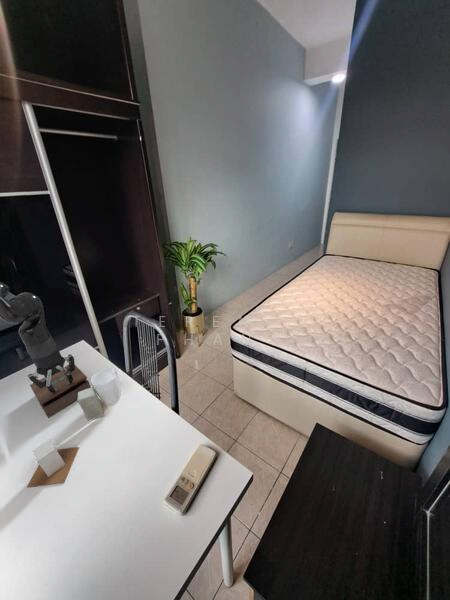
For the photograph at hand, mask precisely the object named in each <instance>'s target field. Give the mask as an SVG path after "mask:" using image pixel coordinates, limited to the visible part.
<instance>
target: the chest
mask: <svg viewBox="0 0 450 600" xmlns="http://www.w3.org/2000/svg"><path fill="white" fill-rule="evenodd" d="M91 387H92V385H91V384H90V382H89V381H88V378H87V379H85V380H83V381H82V382H80V383H78V384H76V385H75V386H73V387H71V388H69V389H68V390H66V391H64V392H63V393H61V394H59V395H57V396H56V397H54V398H52V399H50V400H49V401H47V402H45V403H44V404H42V405H40V406H41V408H42V410H43V412H44V413H45V415H46V417H47V418H48V419H50V418H51V417H53V416H55V415H56V414H58V413H60V412H61V411H63V410H65V409H66V408H68V407H69V406H71V405H72V404H74V403H75V402H78V401H77V399H78V392H80V391H83V390H85V389H88V388H91Z"/></svg>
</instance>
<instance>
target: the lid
mask: <svg viewBox="0 0 450 600" xmlns="http://www.w3.org/2000/svg"><path fill="white" fill-rule="evenodd" d="M64 367H65V368H66V369H68V368H69V364H67V365H65V366H64ZM71 375H72V377H73V380H72V383H70V382H69V381H68V379H67V375H66V374H65V373H63V372H59V373H56V374H54V375H53V376H51V384H52V386H53V388H54V390H55V392H54V393H53V392H50V391H49V390H48V388H47V387H43V388H39V387H38V386H37V385H36V384H34V383H33V382H32V383H31V384H29V386H30V388H31V390H32V392H33V395H34V396H35V397H36V400H37V402H38V403H39V405H40V406H41V405H42V404H44V403H45V402H47V401H49V400H50V399H52V398H54V397H56V396H57V395H59V394H61V393H63V392H64V391H66V390H68V389H69V388H71V387H73V386H75V385H76V384H78V383H80V382H82V381H83V380H85V379H87V380H88V377H87V375H86V374H85V373H84V372H83V371H82V370H81V369H80V368H79V367H78V366H77V365H76V364H75V371H72V372H71ZM39 380H40V381H41V382H44V377H42V378H40V379H39Z"/></svg>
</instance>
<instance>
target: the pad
mask: <svg viewBox="0 0 450 600" xmlns="http://www.w3.org/2000/svg"><path fill="white" fill-rule="evenodd" d="M79 449H80V447H79V446H75V447H66V448H58V449H57V450H58V452H59V453H60V455H61V457H62V459H63V461H64V463H65V465H64V466H63V467H61V468H60V469H59V470H57V471H56V472H55V473H53V474H52V475H51V476H49V477H48V476H47V474H46V473H45V472H44V470H43V469H42V467H41V466H40V465H39V464H38V465H37V467H36V469H35V470H34V473H33V475H32V477H31V478H30V480H29V482H28V484H27V486H26V488H35V487H42V486H49V485H57V484H65V482H66V479H67V477H68V475H69V472H70V470H71V469H72V465H73V463H74V461H75V458H76V456H77V454H78V451H79Z"/></svg>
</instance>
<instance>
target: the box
mask: <svg viewBox="0 0 450 600" xmlns="http://www.w3.org/2000/svg"><path fill="white" fill-rule="evenodd" d="M76 402H77V403H78V405H79V407H80V408H81V410H82V412H83V414H84V415H85V417H86V419H87V421H95V420H97V419H100V418H101V417H104V415H105V414H104V413H105V412H104V408H103V407H104V406H103V404H102V401H101V399H100V398H99V396H98V395H97V393H96V392H95V390H94V388H93V386H91V388H88V389H85V390H83V391H80V392H78V399H77V401H76Z"/></svg>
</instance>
